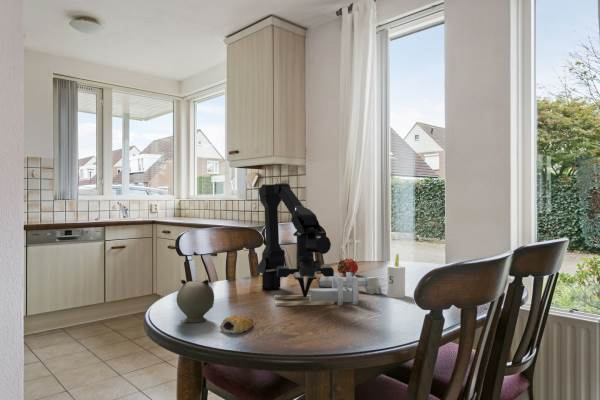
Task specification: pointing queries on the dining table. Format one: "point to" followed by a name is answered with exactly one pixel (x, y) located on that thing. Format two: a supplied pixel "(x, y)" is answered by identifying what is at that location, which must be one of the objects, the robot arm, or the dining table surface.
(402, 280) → the candle
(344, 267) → the dragon fruit
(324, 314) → the dining table surface
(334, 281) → the slotted u bracket
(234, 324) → the pastry
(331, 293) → the gray rectangular bar
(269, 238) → the robot arm
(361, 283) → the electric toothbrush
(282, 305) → the guide rails
